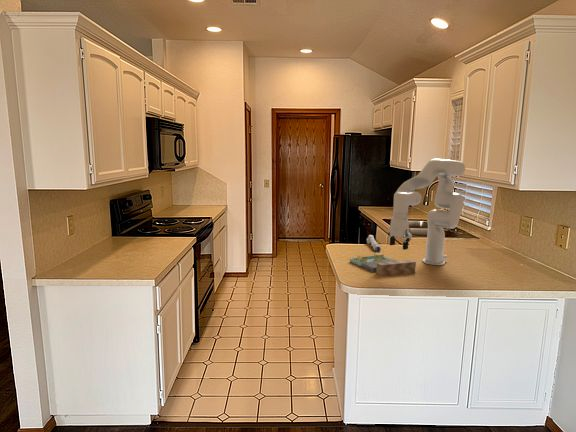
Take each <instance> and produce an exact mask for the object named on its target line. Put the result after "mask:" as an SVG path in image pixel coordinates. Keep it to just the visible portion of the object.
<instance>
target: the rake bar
mask: <svg viewBox="0 0 576 432" xmlns="http://www.w3.org/2000/svg"><path fill="white" fill-rule="evenodd" d="M416 264H417V262H416V261H414V260H412V259H411V260H410V259H409V260H407V259H406V260H397V261H395V262H383V263H377V268H376V272H375V274H376V273H377V275H378V276H380V277H382V276H381V275H383V276H391V275H392V274H393V275H400V274H401V275H402V274H410V273H411V274H412V273H416V266H417V265H416Z"/></svg>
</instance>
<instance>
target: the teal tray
mask: <svg viewBox="0 0 576 432" xmlns="http://www.w3.org/2000/svg"><path fill="white" fill-rule="evenodd" d="M366 256H367V262H372V261H375V260H374V254H373V255H366ZM387 259H391V258H389V257H387V256H384V260H387ZM349 263H351V264H353V265H355V266H358V267H360V268H362V263H361V262H358V261H357V257H352V258H349Z"/></svg>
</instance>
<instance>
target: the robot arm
mask: <svg viewBox="0 0 576 432" xmlns="http://www.w3.org/2000/svg"><path fill="white" fill-rule="evenodd" d="M465 170H466V166H465V163H464V162H463V161H460V160H452V159H445V158H443V159H442V158H432V159H430V160H428V162H427V163H426V164H425V165H424V167H423V168H422V169H421V170H420V172H419V173H418V174H417V175H415V176H413V177H411V178H409V179H407V180H406V181H403V183H402V184H401V185H400V186H399V187H398V188H397V190H396V191H395V193H394V194H393V205H392V207H393V208H392V211H393V212H392V217H391V220H390V223H389V228H387V233H388V236H389V237H388V238H389V246H395V245H396V238H399V239H402V240H403V242H402V250H408V249H409V242H410V241H412V237H413V233H411V232H410V223H409V219H408V218H409V206H418V205H419V204H420V203H421V202H422V200H423V196H422V194H421V193H420V192H419V191H416V190H419V189H423V188H426V187H429V186H431V185H432V184H433V182H434V181H435V179H436V178H437V181H438V183H437V184H438V185H437V188H436V192H435V197H434V200H433V202H434V203H433V204H434V206H435V207H436V208H437V209H436V208H435V209H431V210H429V212H428V213H427V216H426V220H427V234H426V235H427V236H426V248H425V257H424V258H422V260H421V261H422V263H424V264H427V265H431V266H443V265H446V264H445V263H446V261H445V259H448V257H449V256H448V255H447V254H446V255H444V246H445V237H446V236H445V235H446V234H445V230H444V229H445V228H446V229H455V228H457V226H458V225H459V221H460V217H461V214H462V212H463V206H464V197H463V195H462V194H461V193H459V192H458V193H457V192H454V191H453V190H454V187H455V182H454V180H453V178H452V177H461V176H462V175H464V174H465ZM438 208H441V209H438ZM444 209H446V210H444ZM447 209H448V210H449V211H448V210H447Z"/></svg>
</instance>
